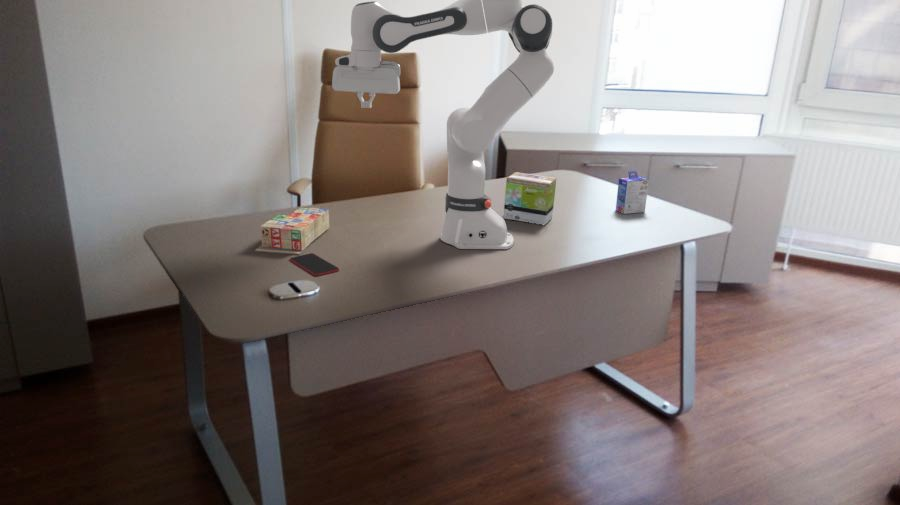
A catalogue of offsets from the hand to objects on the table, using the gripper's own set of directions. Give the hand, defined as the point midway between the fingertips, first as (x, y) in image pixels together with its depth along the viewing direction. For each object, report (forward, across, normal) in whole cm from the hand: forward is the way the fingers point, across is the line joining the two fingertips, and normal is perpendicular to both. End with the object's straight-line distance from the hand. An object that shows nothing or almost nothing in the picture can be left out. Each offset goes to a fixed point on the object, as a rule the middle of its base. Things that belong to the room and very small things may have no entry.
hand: (366, 107), depth 197 cm
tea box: (+37, -52, -18) cm, 67 cm away
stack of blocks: (+34, +11, +19) cm, 40 cm away
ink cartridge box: (+37, -89, -36) cm, 103 cm away
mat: (+37, +18, +19) cm, 46 cm away
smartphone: (+38, +6, +38) cm, 54 cm away
